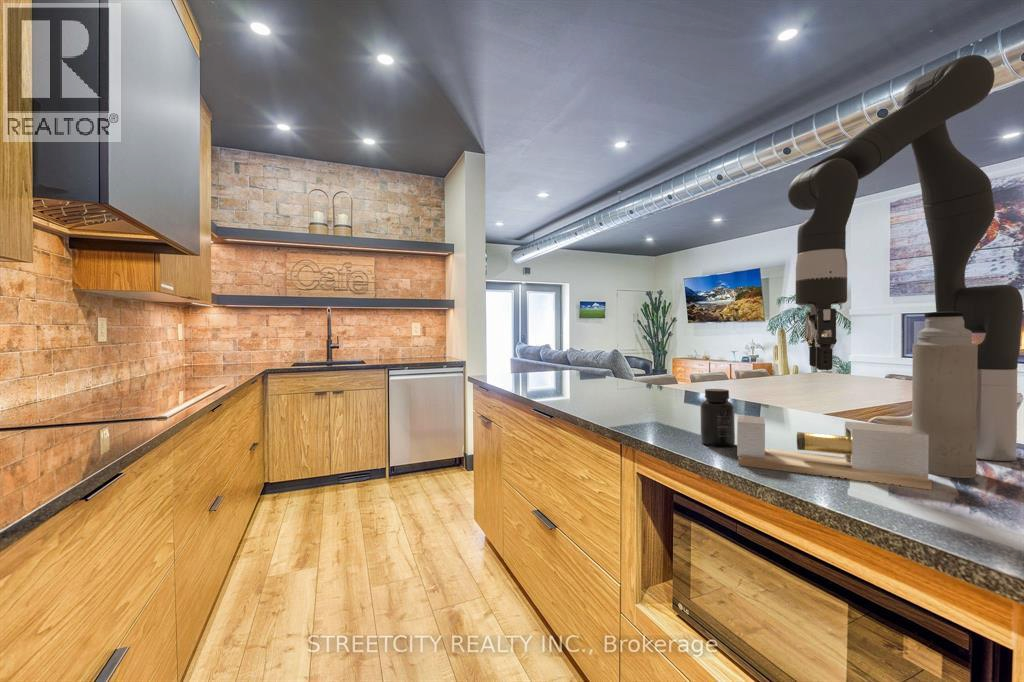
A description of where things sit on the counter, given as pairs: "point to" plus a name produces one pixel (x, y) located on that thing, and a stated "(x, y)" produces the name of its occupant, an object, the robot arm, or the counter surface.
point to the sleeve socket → (856, 446)
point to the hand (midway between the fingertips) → (820, 368)
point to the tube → (824, 443)
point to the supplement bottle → (717, 419)
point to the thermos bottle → (946, 393)
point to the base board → (827, 468)
